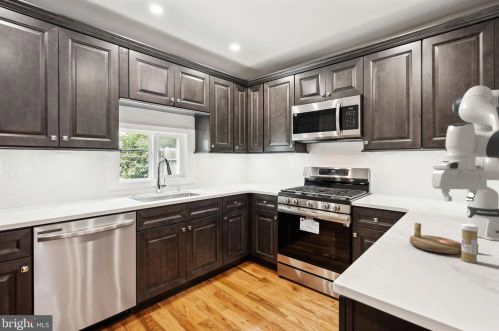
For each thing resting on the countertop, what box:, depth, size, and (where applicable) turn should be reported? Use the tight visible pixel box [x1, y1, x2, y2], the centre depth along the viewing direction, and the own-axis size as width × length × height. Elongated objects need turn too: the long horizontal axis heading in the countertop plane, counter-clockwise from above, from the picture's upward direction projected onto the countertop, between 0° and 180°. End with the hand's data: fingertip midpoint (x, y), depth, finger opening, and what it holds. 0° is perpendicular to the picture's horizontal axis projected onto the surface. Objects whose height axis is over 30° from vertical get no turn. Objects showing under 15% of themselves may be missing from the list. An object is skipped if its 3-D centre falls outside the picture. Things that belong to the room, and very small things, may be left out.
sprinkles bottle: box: [460, 223, 478, 264], centre depth 91 cm, size 5×5×14 cm
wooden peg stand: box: [409, 222, 462, 255], centre depth 105 cm, size 18×18×8 cm
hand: (459, 201), depth 95 cm, fingers open, 8 cm apart
